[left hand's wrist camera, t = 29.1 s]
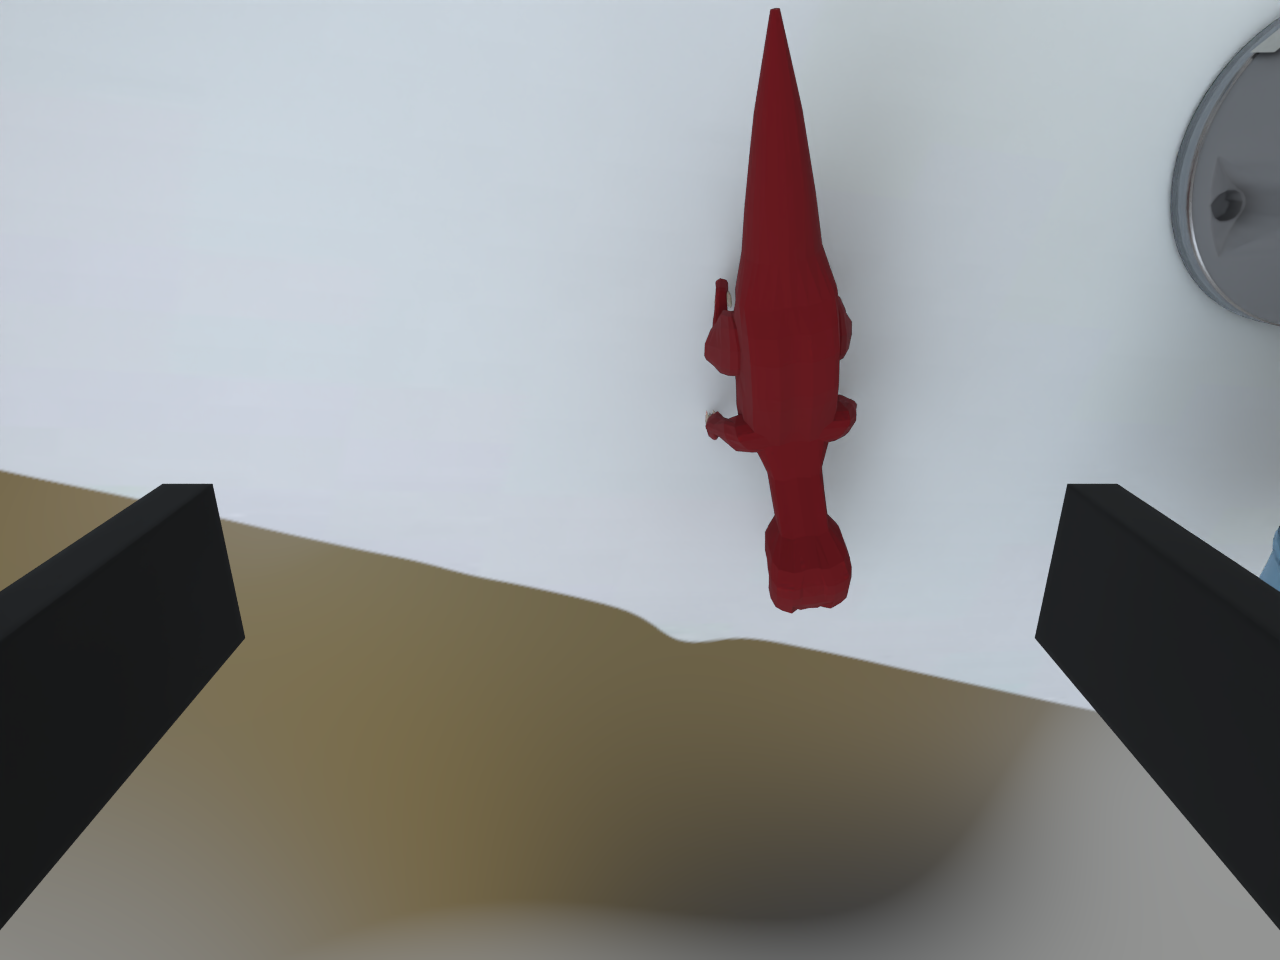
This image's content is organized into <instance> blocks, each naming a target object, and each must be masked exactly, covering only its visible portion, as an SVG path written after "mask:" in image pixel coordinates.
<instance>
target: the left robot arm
mask: <svg viewBox="0 0 1280 960" xmlns="http://www.w3.org/2000/svg"><path fill="white" fill-rule="evenodd" d="M1171 215H1172V226H1173V231H1174V236H1175V241H1176V244H1177V247H1178V250H1179V253H1180V256H1181V258H1182V260H1183V262H1184V265H1185V267H1186V268H1187V270H1188V272H1189V273H1190V275H1191V277H1192V278H1193V279H1194V281H1195V282H1196V283H1197V284H1198V286H1199V287H1200V288H1201V289H1202V290H1203V291H1204V292H1205V293H1206V294H1207V295H1208V296H1209V297H1210V298H1212V299H1213V300H1214V301H1215V302H1217V303H1218V304H1219V305H1221V306H1223V307H1225V308H1226V309H1228V310H1230V311H1232V312H1234V313H1236V314H1238V315H1241V316H1243V317H1247V318H1250V319H1253V320H1257V321H1261V322H1265V323H1269V324H1273V325H1277V326H1280V18H1279V19H1277V20H1276V21H1274V22H1273V23H1271V24H1270V25H1269V26H1268V27H1266V28H1265V29H1264V30H1263V31H1261V32H1260V33H1259V34H1257V35H1256V36H1255V37H1254V38H1253V39H1252V40H1251V41H1250V42H1249V43H1248V44H1247V45H1245V46H1244V47H1243V48H1242V49H1241V50H1240V51H1239V53H1238V54H1237V55H1236V56H1235V57H1234V58H1233V59H1232V60H1231V61H1230V62H1229V63H1228V65H1227V66H1226V67H1225V68H1224V70H1223V71H1222V72H1221V73H1220V75H1219V76H1218V77H1217V78H1216V80H1215V81H1214V83H1213V84H1212V86H1211V87H1210V89H1209V90H1208V91H1207V93H1206V94H1205V96H1204V98H1203V100H1202V101H1201V103H1200V105H1199V106H1198V108H1197V110H1196V112H1195V114H1194V116H1193V118H1192V120H1191V122H1190V124H1189V126H1188V129H1187V131H1186V134H1185V137H1184V139H1183V142H1182V144H1181V148H1180V151H1179V154H1178V158H1177V161H1176V166H1175V171H1174V176H1173V184H1172V192H1171ZM244 639H245V635H244V630H243V625H242V621H241V616H240V611H239V606H238V602H237V597H236V593H235V588H234V583H233V578H232V573H231V569H230V564H229V559H228V555H227V550H226V545H225V541H224V536H223V531H222V526H221V521H220V517H219V512H218V507H217V503H216V498H215V493H214V488H213V484H162V485H160V486H159V487H157V488H156V489H154V490H153V491H151V492H150V493H148V494H147V495H145V496H144V497H142V498H141V499H139V500H138V501H136V502H135V503H133V504H132V505H130V506H129V507H127V508H126V509H124V510H123V511H121V512H120V513H118V514H117V515H115V516H114V517H112V518H111V519H109V520H107V521H106V522H105V523H103V524H102V525H100V526H98V527H97V528H95V529H94V530H92V531H91V532H89V533H88V534H86V535H85V536H83V537H82V538H80V539H79V540H77V541H76V542H74V543H73V544H71V545H70V546H68V547H67V548H65V549H64V550H62V551H61V552H59V553H58V554H56V555H55V556H53V557H52V558H50V559H49V560H47V561H46V562H44V563H43V564H41V565H40V566H38V567H37V568H35V569H34V570H32V571H31V572H29V573H28V574H26V575H25V576H23V577H22V578H20V579H19V580H17V581H16V582H14V583H13V584H11V585H10V586H8V587H6V588H5V589H4V590H2V591H0V930H1V928H2V927H3V926H4V925H5V924H6V922H7V921H8V920H9V919H10V918H11V917H12V915H13V914H14V913H15V912H16V911H17V909H18V908H19V907H20V906H21V905H22V903H23V902H24V901H25V900H26V899H27V897H28V896H29V895H30V894H31V893H32V891H33V890H34V889H35V888H36V887H37V886H38V884H39V883H40V882H41V881H42V880H43V878H44V877H45V876H46V875H47V874H48V872H49V871H50V870H51V869H52V868H53V866H54V865H55V864H56V863H57V862H58V861H59V859H60V858H61V857H62V856H63V855H64V853H65V852H66V851H67V850H68V849H69V847H70V846H71V845H72V844H73V843H74V841H75V840H76V839H77V838H78V837H79V835H80V834H81V833H82V832H83V831H84V830H85V828H86V827H87V826H88V825H89V824H90V822H91V821H92V820H93V819H94V818H95V816H96V815H97V814H98V813H99V812H100V810H101V809H102V808H103V807H104V806H105V804H106V803H107V802H108V801H109V800H110V799H111V797H112V796H113V795H114V794H115V793H116V791H117V790H118V789H119V788H120V787H121V785H122V784H123V783H124V782H125V781H126V779H127V778H128V777H129V776H130V775H131V773H132V772H133V771H134V770H135V769H136V768H137V766H138V765H139V764H140V763H141V762H142V760H143V759H144V758H145V757H146V756H147V754H148V753H149V752H150V751H151V750H152V748H153V747H154V746H155V745H156V744H157V742H158V741H159V740H160V739H161V738H162V737H163V735H164V734H165V733H166V732H167V730H168V729H169V728H170V727H171V726H172V725H173V723H174V722H175V721H176V720H177V719H178V717H179V716H180V715H181V714H182V713H183V711H184V710H185V709H186V708H187V707H188V706H189V704H190V703H191V702H192V701H193V700H194V698H195V697H196V696H197V695H198V694H199V692H200V691H201V690H202V689H203V688H204V686H205V685H206V684H207V683H208V682H209V680H210V679H211V678H212V677H213V676H214V675H215V673H216V672H217V671H218V670H219V668H220V667H221V666H222V665H223V664H224V663H225V661H226V660H227V659H228V658H229V657H230V655H231V654H232V653H233V652H234V651H235V650H236V648H237V647H238V646H239V645H240V644H241V642H242V641H243V640H244ZM1035 639H1036V640H1037V641H1038V642H1039V644H1040V645H1041V646H1042V647H1043V648H1044V650H1045V651H1046V652H1047V653H1048V654H1049V655H1050V657H1051V658H1052V659H1053V660H1054V661H1055V663H1056V664H1057V665H1058V666H1059V667H1060V669H1061V670H1062V671H1063V672H1064V673H1065V675H1066V676H1067V677H1068V678H1069V679H1070V680H1071V682H1072V683H1073V684H1074V685H1075V686H1076V688H1077V689H1078V690H1079V691H1080V692H1081V694H1082V695H1083V696H1084V697H1085V698H1086V700H1087V701H1088V702H1089V703H1090V704H1091V706H1092V707H1093V708H1094V709H1095V710H1096V711H1097V713H1098V714H1099V715H1100V716H1101V717H1102V719H1103V720H1104V721H1105V722H1106V723H1107V725H1108V726H1109V727H1110V728H1111V729H1112V731H1113V732H1114V733H1115V734H1116V735H1117V736H1118V738H1119V739H1120V740H1121V741H1122V742H1123V744H1124V745H1125V746H1126V747H1127V748H1128V750H1129V751H1130V752H1131V753H1132V754H1133V756H1134V757H1135V758H1136V759H1137V760H1138V762H1139V763H1140V764H1141V765H1142V766H1143V768H1144V769H1145V770H1146V771H1147V772H1148V773H1149V775H1150V776H1151V777H1152V778H1153V779H1154V781H1155V782H1156V783H1157V784H1158V785H1159V787H1160V788H1161V789H1162V790H1163V791H1164V793H1165V794H1166V795H1167V796H1168V797H1169V798H1170V800H1171V801H1172V802H1173V803H1174V804H1175V806H1176V807H1177V808H1178V809H1179V810H1180V812H1181V813H1182V814H1183V815H1184V816H1185V817H1186V819H1187V820H1188V821H1189V822H1190V824H1191V825H1192V826H1193V827H1194V828H1195V830H1196V831H1197V832H1198V833H1199V834H1200V835H1201V837H1202V838H1203V839H1204V840H1205V841H1206V843H1207V844H1208V845H1209V846H1210V847H1211V849H1212V850H1213V851H1214V852H1215V853H1216V855H1217V856H1218V857H1219V858H1220V859H1221V861H1222V862H1223V863H1224V864H1225V865H1226V866H1227V868H1228V869H1229V870H1230V871H1231V872H1232V874H1233V875H1234V876H1235V877H1236V878H1237V880H1238V881H1239V882H1240V883H1241V884H1242V886H1243V887H1244V888H1245V889H1246V890H1247V891H1248V893H1249V894H1250V895H1251V896H1252V897H1253V899H1254V900H1255V901H1256V902H1257V903H1258V905H1259V906H1260V907H1261V908H1262V909H1263V911H1264V912H1265V913H1266V914H1267V915H1268V917H1269V918H1270V919H1271V920H1272V921H1273V922H1274V924H1275V925H1276V926H1277V927H1278V928H1279V930H1280V526H1279V528H1278V530H1277V531H1276V532H1275V535H1274V539H1273V551H1272V553H1271V555H1270V558H1269V560H1268V562H1267V564H1266V566H1265V568H1264V570H1263V571H1262V573H1261V575H1260V577H1259V578H1258V577H1257V576H1255V575H1254V574H1252V573H1251V572H1249V571H1248V570H1246V569H1245V568H1243V567H1242V566H1240V565H1239V564H1237V563H1236V562H1234V561H1233V560H1231V559H1230V558H1228V557H1227V556H1225V555H1224V554H1222V553H1221V552H1219V551H1218V550H1216V549H1215V548H1213V547H1212V546H1210V545H1209V544H1207V543H1206V542H1204V541H1203V540H1201V539H1200V538H1198V537H1197V536H1195V535H1194V534H1192V533H1191V532H1189V531H1188V530H1186V529H1185V528H1183V527H1182V526H1180V525H1179V524H1177V523H1176V522H1174V521H1173V520H1171V519H1170V518H1168V517H1166V516H1165V515H1163V514H1162V513H1160V512H1159V511H1157V510H1156V509H1154V508H1153V507H1151V506H1150V505H1148V504H1147V503H1145V502H1144V501H1142V500H1141V499H1139V498H1138V497H1136V496H1135V495H1133V494H1132V493H1130V492H1129V491H1127V490H1126V489H1124V488H1123V487H1121V486H1120V485H1118V484H1067V488H1066V493H1065V498H1064V503H1063V507H1062V512H1061V517H1060V521H1059V526H1058V531H1057V536H1056V540H1055V545H1054V550H1053V555H1052V559H1051V564H1050V569H1049V573H1048V578H1047V583H1046V588H1045V592H1044V597H1043V602H1042V606H1041V611H1040V616H1039V621H1038V625H1037V630H1036V635H1035Z"/></svg>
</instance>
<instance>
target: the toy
mask: <svg viewBox="0 0 1280 960" xmlns="http://www.w3.org/2000/svg"><path fill="white" fill-rule="evenodd" d="M735 295H736V301H735V307H734V311H728V310H727V304H728V306H729V307H730V308H731V306H732V300H731V294H730V293H729V291H728V282H727V280H725V279H721V278H720V279H718V280H717V281H716V295H715V310H714V318H713V327H712V328H711V330H710V333H709V335H708V338H707V340H706V342H705V353H704V356H705V358H706V360H707V361H709V362H710V363H711V364H712V365H713V366H714V367H715V368H716V369H717V370H718V371H719V372H720V373H722V374H725V375H728V376H735V377H736V402H737V410H738V415H737V416H735V417H732V418H729V419H727V418H724V417H723V416H722V415H721V414H720V413H719V412H718V411H717V412H716V413H715V412H714V410H713V414H712V415H711V414H710V415H708V413H707V410H706V420H705V422H706V429H707V432H708V435H709V437H711V438H712V439H713V440H716V439H717V438H718V437H720V438H721V439H723V440H724V441H725V442H726V443H727V444H729V445H730V446H731V447H732V448H733V449H734V450H736V451H742V452H757V453H758V455H759V456H760V458H761V460H762V462H763V464H764V467H765V469H766V471H767V473H768V479H769V484H770V490H771V496H772V502H773V508H774V514H775V515H774V517H773V519H772V520H771V522H770V524H769V525H768V528H767V530H766V531H765V552H766V556H767V564H768V572H769V592H770V597H771V599H772V601H773V603H774V605H775V606H776V607H777V608H779V609H780V610H782V611H786V612H789V613H793V612H794V611H796V610H797V609H800V610H802V609H807V608H818V607H820V606H822V607H826V608H832V607H834V606H836V605H838V604H839V603H841V602H842V601H843V600H844V599H845V598H846V597H847V593H848V589H849V585H850V581H851V572H852V567H851V562H850V557H849V554H848V550H847V547H846V545H845V542H844V539H843V536H842V534H841V531H840V528H839V526H838V525H837V523H836V522H835V521H834V520H833V519H832V518H831V517H830V516H829V515H828V514H827V509H826V501H825V493H824V484H823V474H822V464H823V461H824V457H825V453H826V449H827V446H828V442H831V441H835V440H837V439H839V438H841V437H843V436H845V435H846V434H847V433H848V432H849V431H850V429H851V427H852V426H853V424H854V423H855V421H856V408H857V404H856V403H855V401H853V400H851V399H849V398H847V397H844V396H842V395H838V387H839V360H840V359H843V358H844V356H845V354H846V352H847V350H848V349H849V344H850V340H851V335H852V321H851V320H850V318H849V317H848V315H847V314H846V311H845V307H844V305H843V303H842V301H841V298H840V297H839V296H838V290H837V286H836V283H835V280H834V277H833V274H832V271H831V268H830V265H829V263H828V260H827V257H826V254H825V251H824V248H823V245H822V239H821V231H820V223H819V215H818V207H817V198H816V191H815V185H814V179H813V173H812V166H811V160H810V154H809V148H808V141H807V135H806V129H805V123H804V116H803V110H802V105H801V101H800V96H799V92H798V87H797V83H796V78H795V74H794V70H793V65H792V61H791V56H790V52H789V47H788V43H787V38H786V34H785V30H784V25H783V21H782V16H781V12H780V8H774V9H771V10H770V15H769V21H768V28H767V34H766V40H765V46H764V53H763V59H762V65H761V71H760V78H759V84H758V90H757V96H756V103H755V109H754V116H753V126H752V135H751V145H750V155H749V165H748V176H747V186H746V197H745V208H744V223H743V238H742V252H741V258H740V264H739V270H738V276H737V282H736V288H735Z"/></svg>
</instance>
